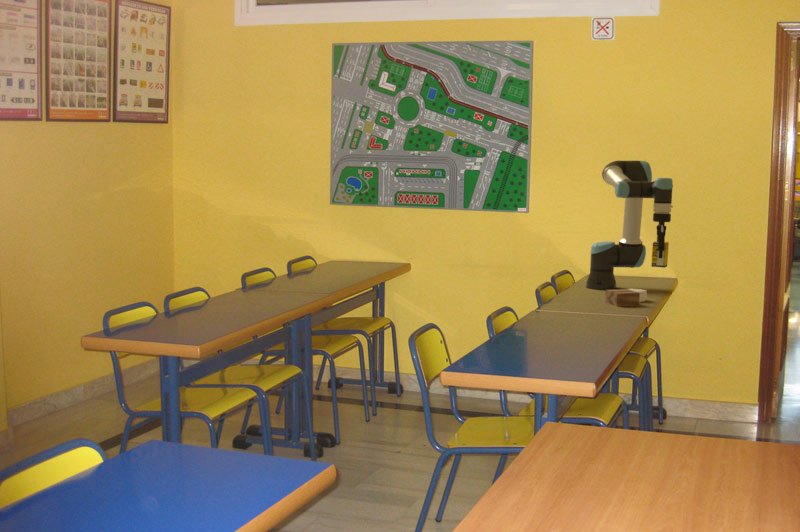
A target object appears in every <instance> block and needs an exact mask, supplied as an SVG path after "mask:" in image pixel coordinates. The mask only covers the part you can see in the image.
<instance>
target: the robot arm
mask: <svg viewBox="0 0 800 532" xmlns="http://www.w3.org/2000/svg"><path fill="white" fill-rule="evenodd" d="M601 176H602V179H603V181H604V182H605V183H606V184H608V185H609V186H612V187H613V188H614V194H615V197H617V198H618V199H619V198H622V199H624V210H623V212H624V213H623V222H622V223H623V224H622V226H623V227H622V237H621V238H620V239H619V241H618V243H617V244H616V243H615V241H607V240H606V241H599V242H594V243H593V244H591V247H590V263H589V264H590V266H589V267H590V268H589V269H590V270H589V273H588V274H589V275H588V276H587V279H586V282H585V288H588V289H593V290H617V282H616V278H615V274H614V270H615V269H614V268H631V269H633V268H640V267H642V266H643V264H644V262H645V260H646V255H647V250H646V249H647V247H646V246H645V245H644V244H643V241H642V239H641V227H642V216H643V215H642V213H643V201H644V199H653V211H652V212H653V215H652V221H653V222H655V223H658V224H657V225H656V242H658V249H656V251H657V265H662V266H663V259H664V249H665V248H664V242H666V240H665V238H666V232H667V231H666V230H667V226H666V225H665V223H670V222H671V221H672V220H671V219H672V218H671V217H672V214H671V212H672V208H673V207H674V206H673V205H672V203H673V202H672V201H673V188H674V185H673V183H674V182H673V179H672V178H671V177H656V178H655V181H654V180H653V179H652V178H653V173H652V168H651V165H650V163H649V162H648V161H646V160H619V159H618V160H615V161H610V162H609V163H607V164H606V165H605V166H604V167H603V169H602V173H601Z"/></svg>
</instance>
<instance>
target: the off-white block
mask: <svg viewBox="0 0 800 532" xmlns="http://www.w3.org/2000/svg"><path fill="white" fill-rule="evenodd" d="M627 289H628V290H632V291H635V292H638V293H640V294H639V303H641V302H642V303H643V302H645V301H647V299H648V298H647V295H648V294H647V293H648V292H647V291H648V290H647V289H640V288H627Z"/></svg>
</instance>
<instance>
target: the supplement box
mask: <svg viewBox="0 0 800 532" xmlns="http://www.w3.org/2000/svg"><path fill="white" fill-rule="evenodd" d="M664 248H665V249H664V259H663V266H662V265H657V251H656V249H658V242H657V240H656V241H652V250H651V251H652V252H651V267H652V268H664V269H665V268H666V267H668V260H669V259H668V258H669V241H665V242H664Z"/></svg>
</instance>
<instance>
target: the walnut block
mask: <svg viewBox="0 0 800 532" xmlns="http://www.w3.org/2000/svg"><path fill="white" fill-rule="evenodd" d="M628 289H629V288H624V289H617V288H616V289H605V297H604V302H605V303H607V304H609V305H612V306H613V307H614V306H615V307H635V306H637V307H638V306H639V305H640V302H639V294H640V293H638V292H635V291H632V290H628Z"/></svg>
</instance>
